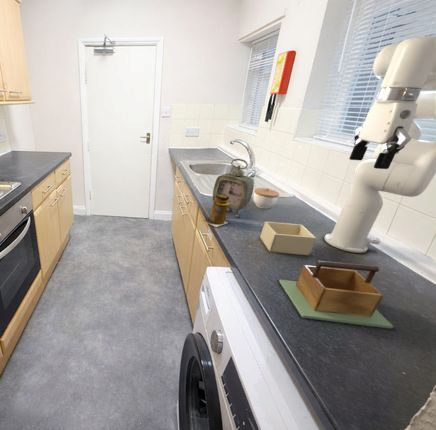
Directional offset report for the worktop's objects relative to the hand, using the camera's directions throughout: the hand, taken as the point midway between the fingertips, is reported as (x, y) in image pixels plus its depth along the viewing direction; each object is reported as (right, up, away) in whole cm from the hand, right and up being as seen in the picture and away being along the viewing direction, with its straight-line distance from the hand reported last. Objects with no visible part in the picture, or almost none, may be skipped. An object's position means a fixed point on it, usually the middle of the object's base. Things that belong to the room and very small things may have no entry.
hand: (367, 163), depth 73 cm
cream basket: (-8, -26, +23) cm, 36 cm away
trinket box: (+3, -10, +58) cm, 59 cm away
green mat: (-13, -38, -3) cm, 40 cm away
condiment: (-27, -17, +40) cm, 51 cm away
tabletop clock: (-17, -13, +50) cm, 54 cm away
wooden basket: (-13, -37, -3) cm, 39 cm away
